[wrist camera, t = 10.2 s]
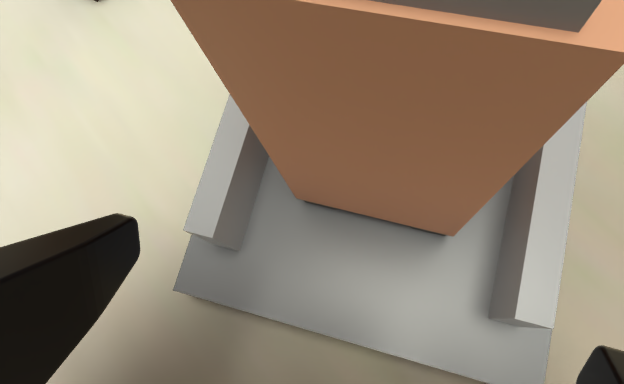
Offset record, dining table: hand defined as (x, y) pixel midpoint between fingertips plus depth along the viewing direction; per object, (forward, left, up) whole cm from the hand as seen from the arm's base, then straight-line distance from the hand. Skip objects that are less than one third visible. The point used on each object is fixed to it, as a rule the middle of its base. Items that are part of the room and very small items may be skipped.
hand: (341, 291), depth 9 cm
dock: (+2, +5, -9) cm, 11 cm away
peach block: (+2, +5, -8) cm, 9 cm away
